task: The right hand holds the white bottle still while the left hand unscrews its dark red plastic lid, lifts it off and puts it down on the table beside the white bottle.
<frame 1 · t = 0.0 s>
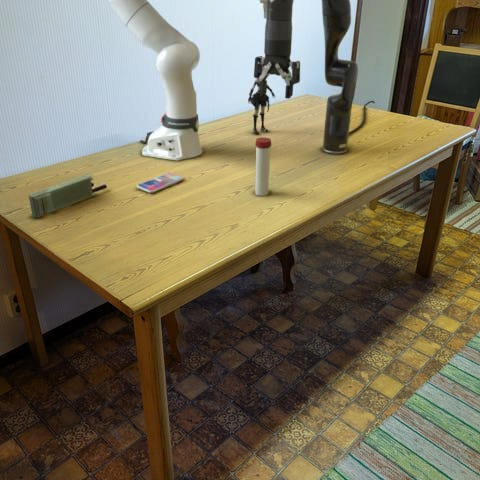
left hand: (268, 16, 163), 48 cm above the table, tool pointing down, fingers open, 8 cm apart
right hand: (275, 95, 149), 29 cm above the table, tool pointing down, fingers open, 8 cm apart
white bottle: (261, 193, 159), on the table
smartphone: (160, 184, 164), on the table
handheld radio: (72, 203, 151), on the table
lid: (263, 140, 151), point 17 cm above the table, screwed on, not yet turned
figurine: (258, 132, 214), on the table
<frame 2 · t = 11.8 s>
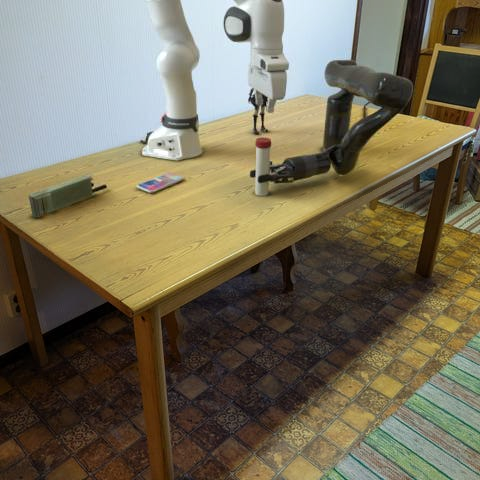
left hand: (264, 108, 146), 27 cm above the table, tool pointing down, fingers open, 7 cm apart
right hand: (254, 177, 155), 6 cm above the table, tool horizontal, fingers closed on white bottle, 4 cm apart
white bottle: (261, 193, 159), on the table, touching right hand
everything else where it was.
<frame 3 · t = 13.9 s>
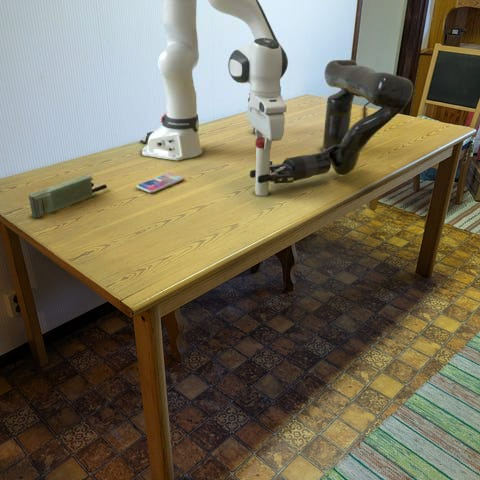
left hand: (263, 146, 152), 15 cm above the table, tool pointing down, fingers closed on lid, 4 cm apart
right hand: (254, 177, 155), 6 cm above the table, tool horizontal, fingers closed on white bottle, 4 cm apart
white bottle: (261, 193, 159), on the table, touching right hand
lid: (263, 140, 151), point 17 cm above the table, screwed on, not yet turned, touching left hand
everything else where it was.
when the left hand's fingers open (16 cm above the table, at t = 15.0 s): lid stays where it is, point 17 cm above the table.
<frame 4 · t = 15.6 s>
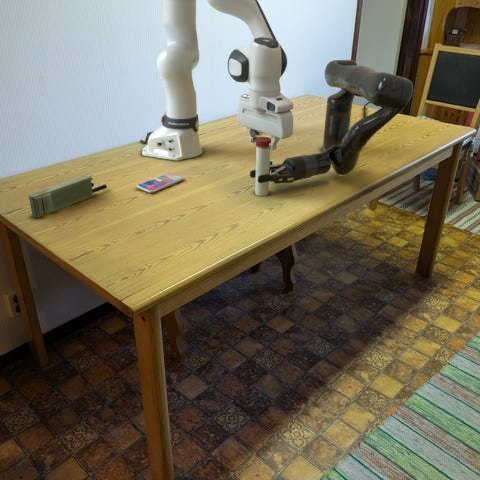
left hand: (262, 145, 151), 16 cm above the table, tool pointing down, fingers open, 7 cm apart
right hand: (254, 177, 155), 6 cm above the table, tool horizontal, fingers closed on white bottle, 4 cm apart
white bottle: (261, 193, 159), on the table, touching right hand
lid: (263, 140, 151), point 17 cm above the table, turned 66° so far, risen 0.2 cm, still on its thread
everything else where it was.
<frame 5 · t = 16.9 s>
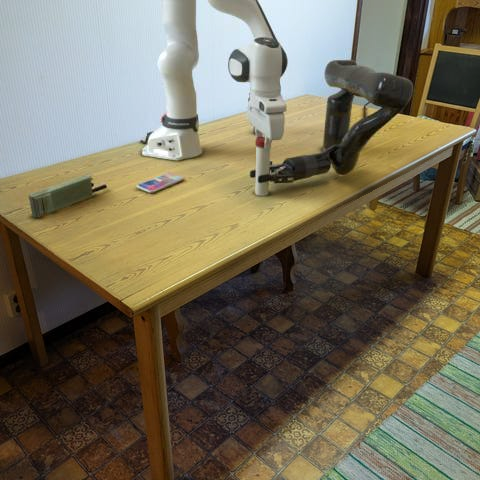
left hand: (263, 145, 152), 16 cm above the table, tool pointing down, fingers closed on lid, 4 cm apart
right hand: (254, 177, 155), 6 cm above the table, tool horizontal, fingers closed on white bottle, 4 cm apart
white bottle: (261, 193, 159), on the table, touching right hand
lid: (263, 140, 151), point 17 cm above the table, turned 66° so far, risen 0.2 cm, still on its thread, touching left hand
everything else where it was.
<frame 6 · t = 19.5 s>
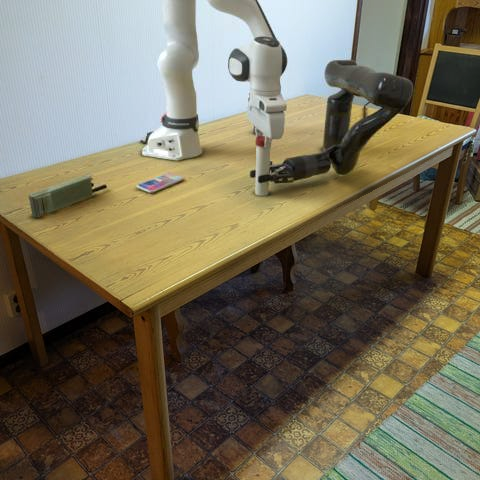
left hand: (263, 145, 151), 16 cm above the table, tool pointing down, fingers closed on lid, 4 cm apart
right hand: (254, 177, 155), 6 cm above the table, tool horizontal, fingers closed on white bottle, 4 cm apart
white bottle: (261, 193, 159), on the table, touching right hand
lid: (263, 139, 151), point 17 cm above the table, turned 131° so far, risen 0.4 cm, still on its thread, touching left hand
everything else where it was.
when the left hand's fingers open (2 cm above the table, at t = 25.1 s): lid drops 2 cm, point 2 cm above the table.
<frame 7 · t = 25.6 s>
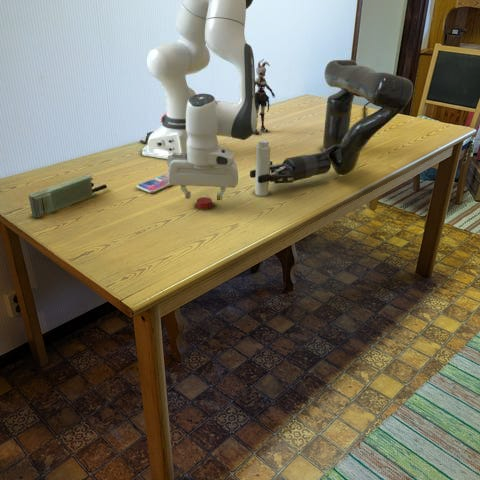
left hand: (203, 198, 150), 2 cm above the table, tool pointing down, fingers open, 8 cm apart
right hand: (254, 177, 155), 6 cm above the table, tool horizontal, fingers closed on white bottle, 4 cm apart
white bottle: (261, 193, 159), on the table, touching right hand
lid: (204, 201, 150), point 2 cm above the table, off its thread
everything else where it was.
when the right hand's fingers open (6 cm above the table, at t = 26.2 s): white bottle stays where it is, on the table.
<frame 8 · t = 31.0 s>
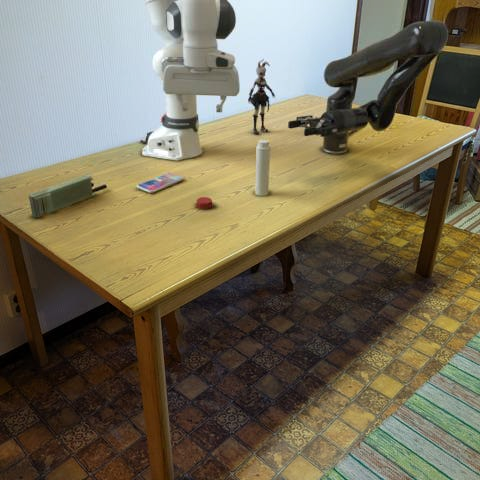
left hand: (202, 111, 137), 28 cm above the table, tool pointing down, fingers open, 8 cm apart
right hand: (296, 128, 155), 19 cm above the table, tool horizontal, fingers open, 8 cm apart
white bottle: (261, 193, 159), on the table
everything else where it was.
at the end: lid came off its thread; lid point 1.5 cm above the table; the left hand is holding nothing; the right hand is holding nothing; white bottle tilted 0°; white bottle moved 0.0 cm from its start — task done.
